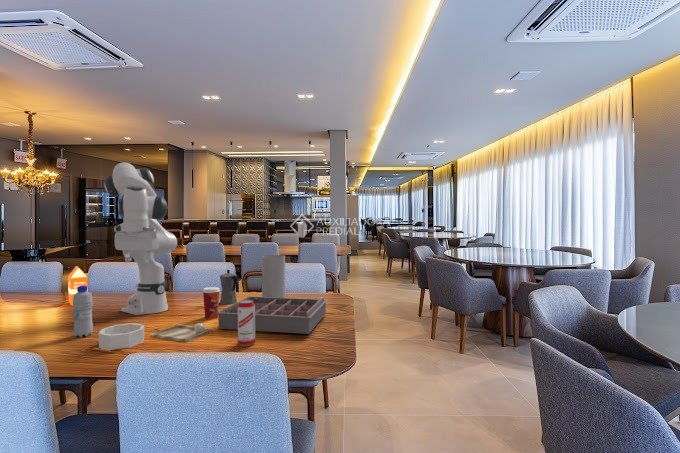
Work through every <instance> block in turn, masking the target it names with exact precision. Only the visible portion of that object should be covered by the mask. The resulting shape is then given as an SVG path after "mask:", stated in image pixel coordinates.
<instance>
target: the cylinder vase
mask: <svg viewBox="0 0 680 453" xmlns="http://www.w3.org/2000/svg"><path fill="white" fill-rule="evenodd" d="M261 261H262V262H261V270H262V272H261V276H262V279H261V280H262V281H261V283H262V284H261V285H262V286H261V288H262V290H261V292H262V294H261V297H273V298H286V255H283V254H268V255H263V256H261Z"/></svg>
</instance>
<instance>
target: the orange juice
mask: <svg viewBox="0 0 680 453" xmlns="http://www.w3.org/2000/svg"><path fill="white" fill-rule="evenodd" d="M67 277H68V278H67V279H68V283H67V284H68V286H67V288H68V303H70V304H69V305H70V306H71V305H72V306H73V303H72V302H73V296H74V294H76V293H78V292H77V287H79V286H82V285H84V286H87V291H88V292H89V290H88V288H89V287H88V276H87V275H86V273H84V271H83V270H82V269H81V268H80V267H79V266H78V265H76V266H75V267H74V268H73V269H72V270H71V272H70V273H69V275H68V276H67Z"/></svg>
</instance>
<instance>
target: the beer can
mask: <svg viewBox="0 0 680 453" xmlns="http://www.w3.org/2000/svg"><path fill="white" fill-rule="evenodd" d="M238 302H239V305H238V330H237V344H239V346H241V347H249V346H253V345H254V344H255V342H256V331H255V304H254V303H253V300H243V299H241V300H239V301H238Z"/></svg>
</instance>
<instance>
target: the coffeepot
mask: <svg viewBox="0 0 680 453" xmlns="http://www.w3.org/2000/svg"><path fill="white" fill-rule="evenodd" d="M237 277H238V275H237V274H236V273H231V272H230V269H226V273H222V274H220V275H219V279H220V285H221V286H220V288H221V293H220V294H221V295H220V299H219V304H221V305H233V304H235V303H237V302H238V299H237V295H236V288H237V287H236V286H237V281H238V278H237Z"/></svg>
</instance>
